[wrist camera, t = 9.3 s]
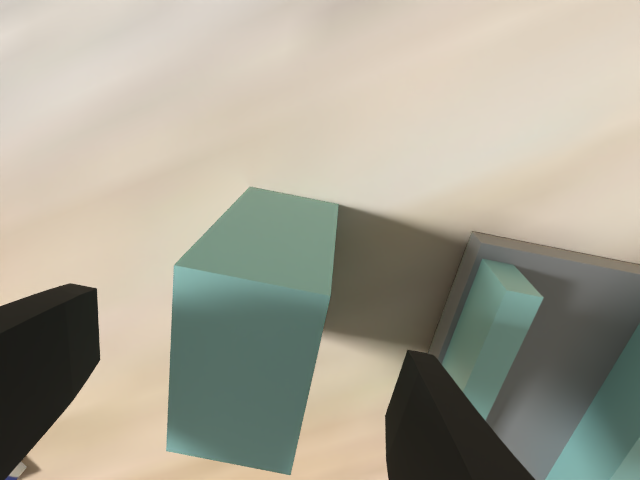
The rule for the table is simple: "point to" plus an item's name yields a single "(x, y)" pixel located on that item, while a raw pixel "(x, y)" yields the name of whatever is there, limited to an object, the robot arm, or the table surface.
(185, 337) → the teal plug
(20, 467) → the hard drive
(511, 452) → the robot arm
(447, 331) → the slot comb
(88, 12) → the table surface
